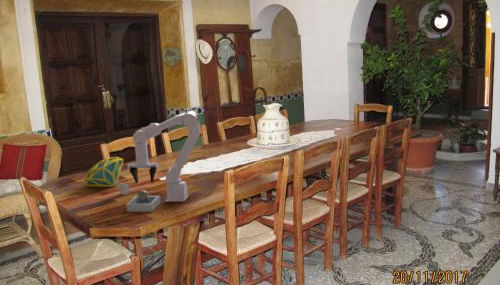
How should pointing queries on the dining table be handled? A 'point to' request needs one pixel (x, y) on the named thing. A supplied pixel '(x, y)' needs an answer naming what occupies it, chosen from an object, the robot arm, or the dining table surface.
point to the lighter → (123, 188)
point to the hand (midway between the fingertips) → (144, 182)
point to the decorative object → (104, 173)
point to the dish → (136, 207)
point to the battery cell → (143, 197)
